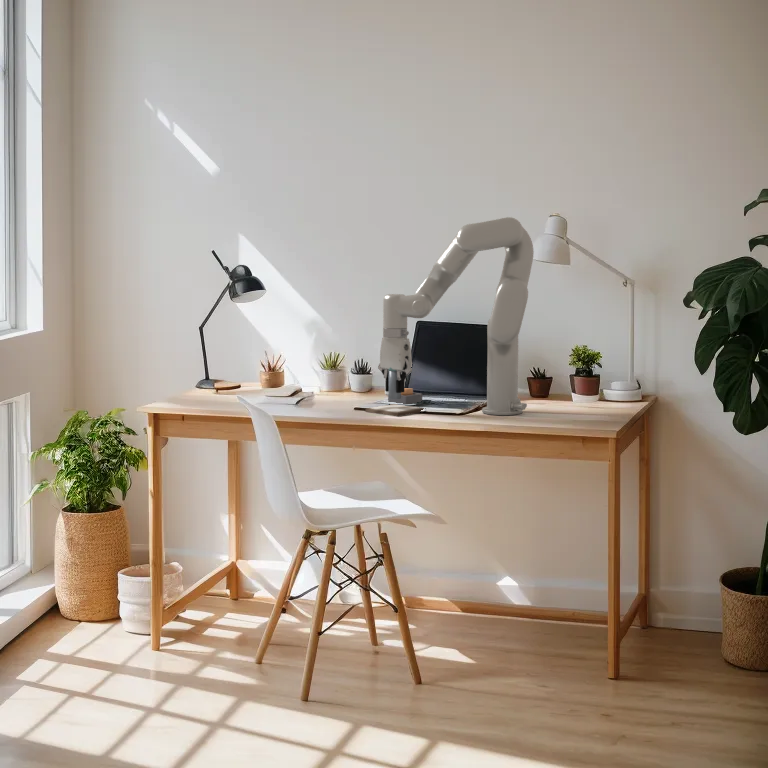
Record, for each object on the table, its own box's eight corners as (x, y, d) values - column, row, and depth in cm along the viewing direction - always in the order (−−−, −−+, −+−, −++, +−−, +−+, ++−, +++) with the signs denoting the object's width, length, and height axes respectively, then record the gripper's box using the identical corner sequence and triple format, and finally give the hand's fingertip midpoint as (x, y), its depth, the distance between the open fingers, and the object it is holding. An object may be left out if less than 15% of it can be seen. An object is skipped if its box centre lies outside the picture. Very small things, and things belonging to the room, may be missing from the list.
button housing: (422, 404, 329) (422, 393, 328) (405, 406, 323) (405, 396, 323) (404, 401, 334) (404, 391, 334) (388, 404, 329) (388, 394, 328)
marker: (404, 398, 314) (404, 363, 312) (395, 399, 311) (395, 364, 309) (394, 396, 316) (394, 362, 315) (385, 398, 314) (385, 363, 312)
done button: (415, 396, 329) (415, 388, 328) (405, 397, 325) (405, 390, 325) (404, 394, 332) (404, 387, 332) (394, 396, 328) (394, 388, 328)
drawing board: (425, 411, 314) (425, 407, 314) (397, 416, 305) (397, 412, 304) (393, 406, 324) (393, 403, 323) (365, 411, 314) (365, 407, 314)
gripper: (423, 334, 308) (422, 393, 310) (384, 331, 319) (384, 388, 322) (406, 336, 302) (406, 395, 305) (367, 332, 314) (367, 390, 316)
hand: (394, 391), depth 313 cm, fingers closed on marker, 4 cm apart
